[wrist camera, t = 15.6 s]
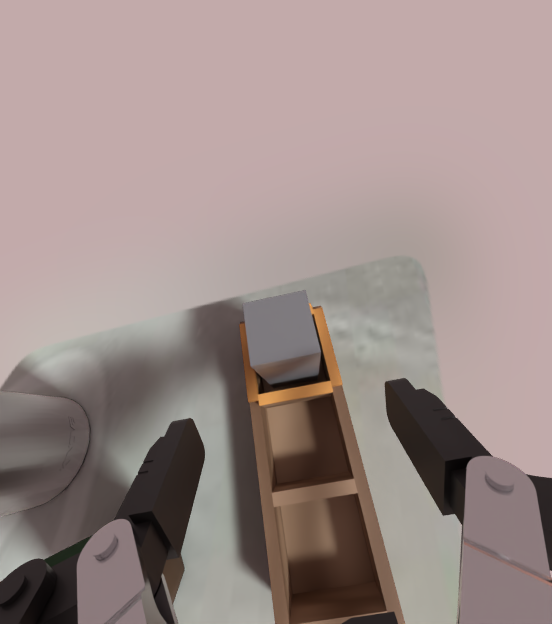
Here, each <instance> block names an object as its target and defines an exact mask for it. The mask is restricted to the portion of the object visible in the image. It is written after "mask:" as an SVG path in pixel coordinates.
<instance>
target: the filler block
mask: <svg viewBox="0 0 552 624" xmlns="http://www.w3.org/2000/svg"><path fill="white" fill-rule="evenodd" d="M243 311H244V319H245V327H246V335H247V343H248V350H249V358H250V366H251V367H252V368H253V369H254V370H255V371H256V372H257V373H258V374H259V375H260V376H261V377H262V378H263V379H265V380H266V381H267V382H268V383H269V384H270V385H271V386H272V387H273V388H277V387H282V386H287V385H293V384H298V383H303V382H308V381H313V380H318V374H319V365H320V357H321V350H320V346H319V342H318V338H317V334H316V330H315V326H314V322H313V318H312V314H311V310H310V306H309V302H308V298H307V294H306V290H303V291H298V292H294V293H289V294H284V295H280V296H275V297H270V298H265V299H261V300H256V301H251V302H246V303H243Z"/></svg>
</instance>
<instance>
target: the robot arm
mask: <svg viewBox="0 0 552 624" xmlns="http://www.w3.org/2000/svg"><path fill="white" fill-rule="evenodd" d="M385 396H386V410H387V416H388V419H389V422H390V425H391V427H392V429H393V430H394V432H395V434H396V436H397V437H398V439H399V441H400V443H401V444H402V446H403V448H404V449H405V451H406V453H407V455H408V456H409V458H410V460H411V461H412V463H413V465H414V467H415V468H416V470H417V472H418V474H419V475H420V477H421V479H422V480H423V482H424V484H425V486H426V487H427V489H428V491H429V492H430V494H431V496H432V498H433V499H434V501H435V503H436V504H437V506H438V508H439V510H440V511H441V513H442V515H443V516H444V515H450V514H455V515H456V516H457V518H458V519H459V521H460V523H461V524H462V535H461V554H460V573H459V592H458V609H457V624H552V578H551V575H550V570H551V571H552V478H546V477H538V476H532V475H527V474H525V473H524V472H523V471H521V470H520V469H519V468H517V467H516V466H514V465H512V464H511V463H509V462H507V461H505V460H502V459H499V458H496V457H493V456H492V455H491V454H490V453H489V452H488V451H487V450H486V449H485V448H484V447H483V446H482V445H481V443H480V442H479V441H478V440H477V439H476V438H475V437H474V436H473V435H472V434H471V433H470V432H469V430H467V428H466V427H465V426H464V425H463V424H462V423H461V422H460V421H459V420H458V419H457V418H455V416H454V414H453V413H452V412H451V411H450V410H449V409H447V407H446V406H445V405H444V404H443V402H442V401H441V400H440V399H439V398H438V397H437V396H435V395H434V394H432V393H430V392H428V391H427V390H425V389H418V390H416V389H415V388H414V387H413V386H412V385H411V383H410V382H409V381H408V380H407V379H406V378H402V379H396V380H391V381H386V382H385ZM89 431H90V429H89V423H88V418H87V416H86V414H85V411H84V410H83V409H82V407H81V406H80V405H79V404H78V403H76V402H75V401H73V400H70V399H67V398H62V397H53V396H43V395H34V394H27V393H17V392H8V391H0V517H3V516H6V515H10V514H13V513H16V512H20V511H23V510H26V509H30V508H33V507H37V506H39V505H41V504H44V503H46V502H48V501H50V500H51V499H53V498H54V497H56V496H57V495H58V494H59V493H61V492H62V491H63V490H64V489H65V488H66V487H67V486H68V485H69V483H70V482H71V481H72V479H73V478H74V477H75V476H76V474H77V472H78V470H79V468H80V467H81V465H82V463H83V460H84V458H85V455H86V452H87V448H88V443H89ZM204 459H205V450H204V445H203V442H202V440H201V437H200V435H199V433H198V430H197V428H196V425H195V423H194V421H193V419H191V418H188V419H183V420H178V421H173V422H172V423H171V424H170V426H169V428H168V430H167V432H166V434H165V436H164V437H160V438H159V439H158V440H157V441H156V443H155V444H154V445H153V446H152V447H151V448H150V450H149V452H148V454H147V456H146V458H145V460H144V463H143V464H142V466H141V468H140V470H139V472H138V475H137V476H136V478H135V480H134V482H133V484H132V485H131V487H130V489H129V491H128V493H127V495H126V497H125V499H124V501H123V503H122V505H121V507H120V509H119V511H118V513H117V515H116V517H115V519H114V521H112V522H110V523H108V524H106V525H105V526H103V527H102V528H101V529H99V530H98V531H97V532H96V533H95V534H94V535H93V536H92V537H91V538H90V540H89V541H88V542H87V543H86V545H85V547H84V548H83V550H82V552H80V553H78V554H76V555H74V556H72V557H70V558H68V559H66V560H64V561H62V562H60V563H58V564H56V565H54V566H52V567H50V566H49V565H48V564H47V563H46V562H45V561H44V560H43V559H34V560H31V561H28V562H26V563H24V564H23V565H21V566H19V567H18V568H17V569H15V570H14V571H13V572H11V573H10V574H9V575H8V576H7V577H6V578H5V579H4V580H3V581H2V582H1V583H0V624H178V620H177V617H176V614H175V610H174V607H173V604H172V600H171V597H170V594H169V590H168V587H167V584H166V580H165V577H164V575H163V570H164V566H165V563H166V560H169V559H175V558H179V557H180V553H181V549H182V546H183V542H184V538H185V534H186V530H187V526H188V522H189V518H190V514H191V511H192V507H193V503H194V499H195V495H196V491H197V487H198V483H199V479H200V476H201V472H202V468H203V464H204ZM342 624H398V622H397V619H396V615H395V612H394V611H393V612H387V613H380V614H373V615H367V616H360V617H353V618H350V619H348V620H347V621H345V622H343V623H342Z"/></svg>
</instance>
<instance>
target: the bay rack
mask: <svg viewBox="0 0 552 624" xmlns="http://www.w3.org/2000/svg"><path fill="white" fill-rule="evenodd" d="M309 306H310V310H311V314H312V318H313V322H314V326H315V330H316V334H317V338H318V342H319V346H320V350H321V357H320V365H319V374H318V380H313V381H308V382H303V383H298V384H293V385H287V386H282V387H277V388H273V387H272V386H271V385H270V384H269V383H268V382H267V381H266V380H265V379H263V378H262V377H261V376H260V375H259V374H258V373H257V372H256V371H255V370H254V369H253V368H252V367H251V366H250V358H249V350H248V343H247V335H246V327H245V321H244V322H240V324H239V327H240V335H241V344H242V353H243V362H244V370H245V379H246V388H247V397H248V402H249V403H250V411H251V419H252V428H253V436H254V445H255V454H256V462H257V471H258V479H259V488H260V497H261V505H262V514H263V523H264V531H265V540H266V548H267V557H268V566H269V574H270V583H271V591H272V600H273V609H274V617H275V624H342V623H343V622H345V621H347V620H348V619H350V618H353V617H360V616H367V615H373V614H380V613H387V612H393V611H394V612H395V615H396V619H397V622H398V624H405V621H404V617H403V614H402V610H401V606H400V602H399V599H398V595H397V591H396V587H395V583H394V580H393V576H392V572H391V568H390V565H389V561H388V557H387V553H386V550H385V546H384V542H383V538H382V534H381V531H380V527H379V523H378V519H377V516H376V512H375V508H374V504H373V501H372V497H371V493H370V489H369V485H368V482H367V478H366V474H365V470H364V467H363V463H362V459H361V455H360V451H359V448H358V444H357V440H356V436H355V433H354V429H353V425H352V421H351V418H350V414H349V410H348V406H347V402H346V399H345V395H344V391H343V387H342V380H341V376H340V373H339V369H338V365H337V361H336V358H335V354H334V350H333V346H332V343H331V339H330V335H329V331H328V328H327V324H326V320H325V316H324V313H323V309H322V308H321V306H317V307H312V305H311V304H310V303H309Z"/></svg>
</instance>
